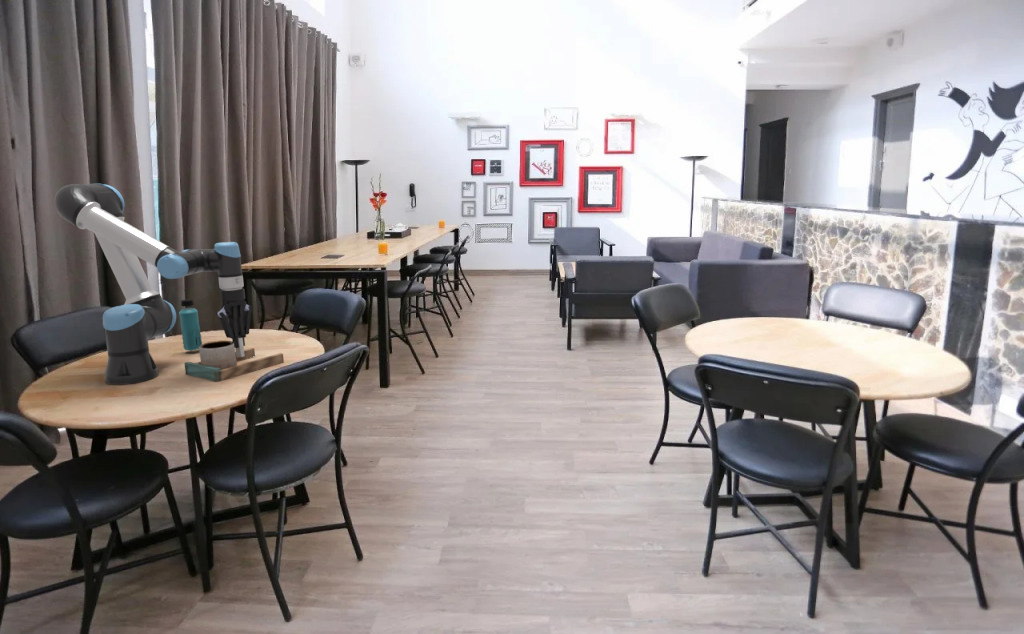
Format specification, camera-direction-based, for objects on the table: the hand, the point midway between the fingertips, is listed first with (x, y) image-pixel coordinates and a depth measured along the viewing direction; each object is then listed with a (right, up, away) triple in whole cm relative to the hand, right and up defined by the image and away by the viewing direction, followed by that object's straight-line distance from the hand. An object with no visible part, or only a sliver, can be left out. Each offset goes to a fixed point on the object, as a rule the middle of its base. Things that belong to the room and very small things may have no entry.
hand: (240, 356), depth 225 cm
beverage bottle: (-27, 0, +21) cm, 34 cm away
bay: (-1, -4, -1) cm, 4 cm away
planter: (-4, -5, -6) cm, 9 cm away
